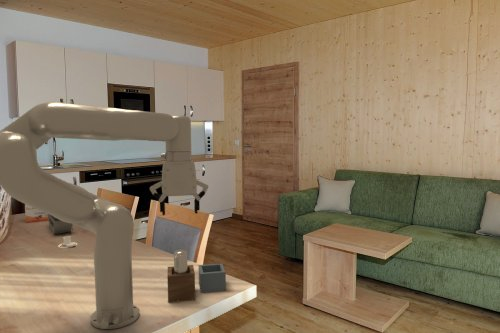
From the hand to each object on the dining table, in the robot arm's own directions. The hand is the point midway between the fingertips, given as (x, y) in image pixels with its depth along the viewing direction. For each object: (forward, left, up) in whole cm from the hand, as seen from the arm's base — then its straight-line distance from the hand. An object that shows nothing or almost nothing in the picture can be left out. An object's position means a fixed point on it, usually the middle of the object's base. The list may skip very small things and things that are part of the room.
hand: (180, 213), depth 115 cm
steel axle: (0, 0, -26) cm, 26 cm away
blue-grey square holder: (+5, -10, -26) cm, 28 cm away
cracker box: (+114, +75, -26) cm, 139 cm away
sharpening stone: (+89, +58, -26) cm, 110 cm away
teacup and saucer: (+59, +49, -27) cm, 81 cm away
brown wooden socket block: (0, 0, -26) cm, 26 cm away
